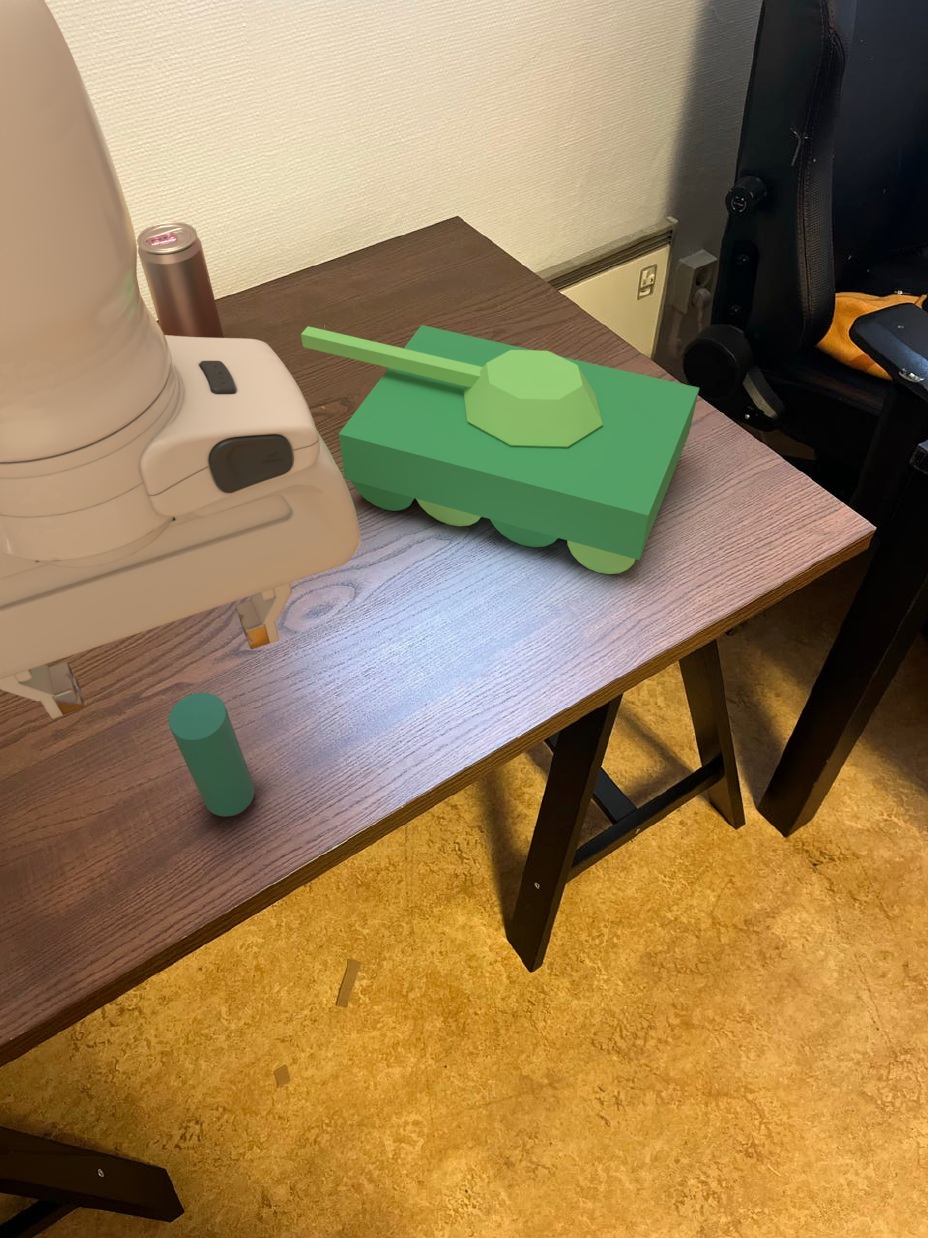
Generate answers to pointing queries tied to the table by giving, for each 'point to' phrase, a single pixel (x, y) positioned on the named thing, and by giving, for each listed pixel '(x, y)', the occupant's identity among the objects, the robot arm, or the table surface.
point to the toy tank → (515, 441)
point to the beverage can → (179, 280)
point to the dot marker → (212, 753)
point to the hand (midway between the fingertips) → (166, 668)
